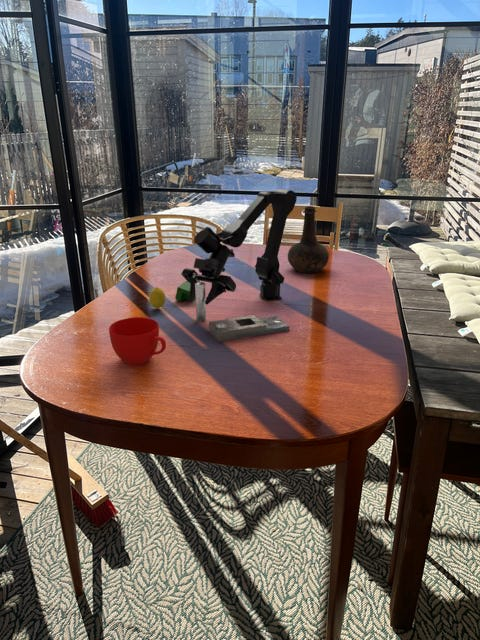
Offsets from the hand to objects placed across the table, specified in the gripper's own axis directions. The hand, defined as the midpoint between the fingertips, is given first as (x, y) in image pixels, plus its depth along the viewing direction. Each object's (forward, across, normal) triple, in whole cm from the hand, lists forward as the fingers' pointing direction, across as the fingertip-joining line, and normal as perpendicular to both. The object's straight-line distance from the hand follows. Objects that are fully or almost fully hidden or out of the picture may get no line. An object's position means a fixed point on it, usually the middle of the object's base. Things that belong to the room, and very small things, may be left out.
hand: (198, 302), depth 152 cm
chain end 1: (+5, +16, +4) cm, 17 cm away
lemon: (+4, -19, +6) cm, 20 cm away
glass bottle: (-48, +5, +58) cm, 75 cm away
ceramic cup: (+27, +4, -18) cm, 33 cm away
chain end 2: (+2, +20, +8) cm, 21 cm away
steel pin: (+4, 0, +6) cm, 7 cm away
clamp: (-7, -16, +17) cm, 24 cm away
